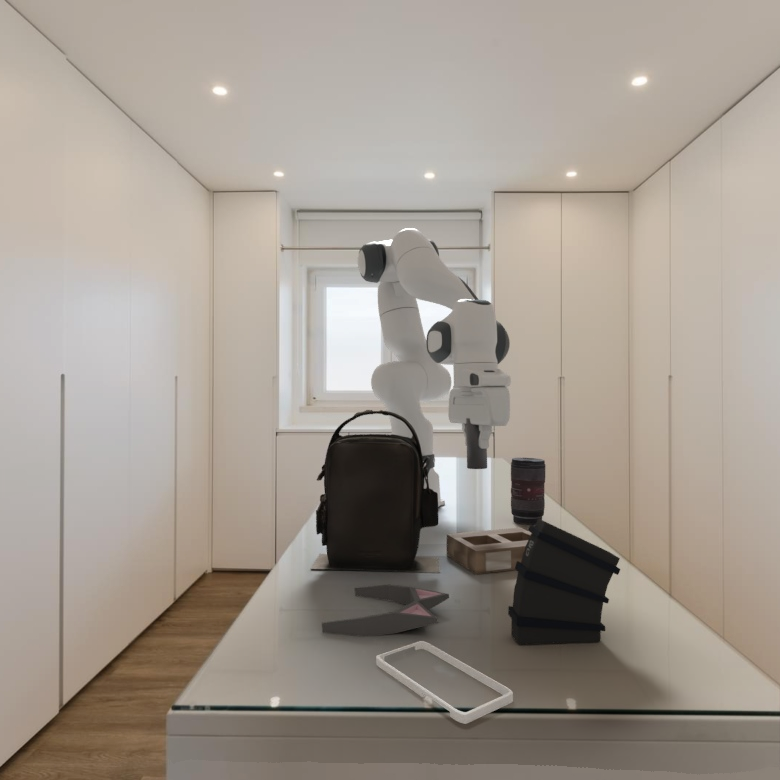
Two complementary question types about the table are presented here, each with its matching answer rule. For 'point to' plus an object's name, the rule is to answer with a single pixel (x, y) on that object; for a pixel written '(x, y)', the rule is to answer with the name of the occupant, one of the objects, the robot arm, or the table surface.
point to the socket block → (488, 549)
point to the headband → (394, 621)
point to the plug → (474, 448)
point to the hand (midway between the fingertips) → (476, 447)
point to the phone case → (454, 713)
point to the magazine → (560, 588)
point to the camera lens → (527, 490)
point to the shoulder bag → (375, 502)
